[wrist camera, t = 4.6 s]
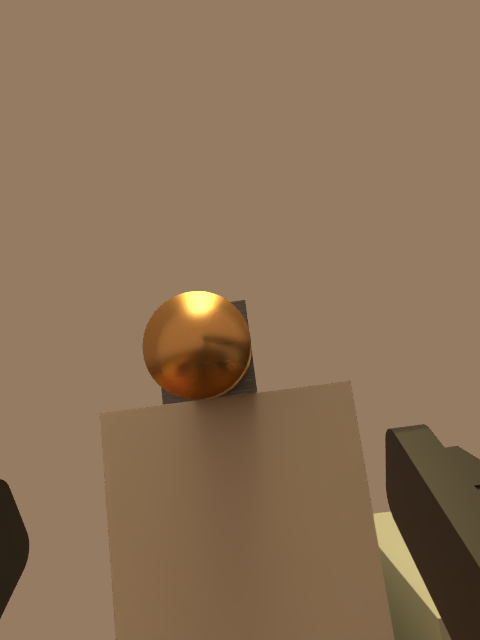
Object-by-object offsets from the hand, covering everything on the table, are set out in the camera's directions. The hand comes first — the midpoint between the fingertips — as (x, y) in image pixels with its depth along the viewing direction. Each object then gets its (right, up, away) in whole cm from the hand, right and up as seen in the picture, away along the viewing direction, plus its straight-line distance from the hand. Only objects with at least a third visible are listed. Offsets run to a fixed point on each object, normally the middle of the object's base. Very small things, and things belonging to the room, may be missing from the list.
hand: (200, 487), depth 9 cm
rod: (0, -1, +15) cm, 15 cm away
